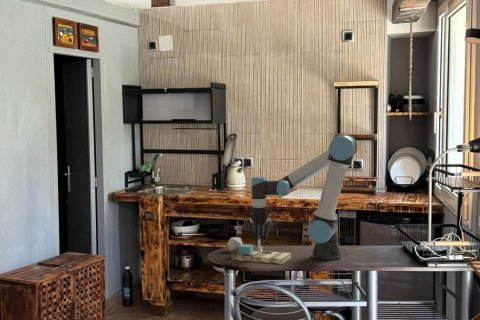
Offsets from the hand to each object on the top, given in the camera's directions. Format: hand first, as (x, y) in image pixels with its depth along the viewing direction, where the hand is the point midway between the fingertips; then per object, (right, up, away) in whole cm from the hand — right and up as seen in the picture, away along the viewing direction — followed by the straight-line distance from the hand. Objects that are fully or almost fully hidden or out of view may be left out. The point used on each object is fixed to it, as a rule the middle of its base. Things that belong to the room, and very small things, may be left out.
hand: (260, 251), depth 279 cm
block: (-7, -1, +3) cm, 8 cm away
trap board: (0, -4, 0) cm, 4 cm away
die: (-13, -3, +17) cm, 22 cm away
